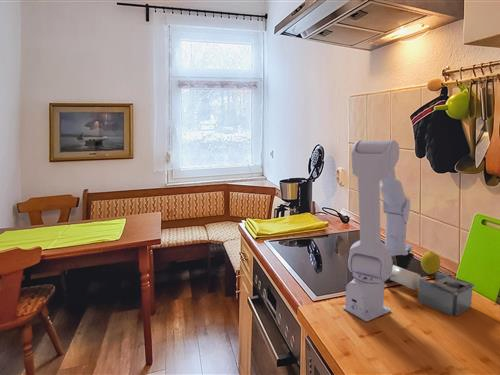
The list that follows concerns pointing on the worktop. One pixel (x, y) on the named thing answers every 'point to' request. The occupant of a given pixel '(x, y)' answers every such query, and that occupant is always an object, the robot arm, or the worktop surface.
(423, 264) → the lemon
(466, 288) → the housing
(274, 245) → the worktop surface
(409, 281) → the cartridge
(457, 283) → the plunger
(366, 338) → the worktop surface
